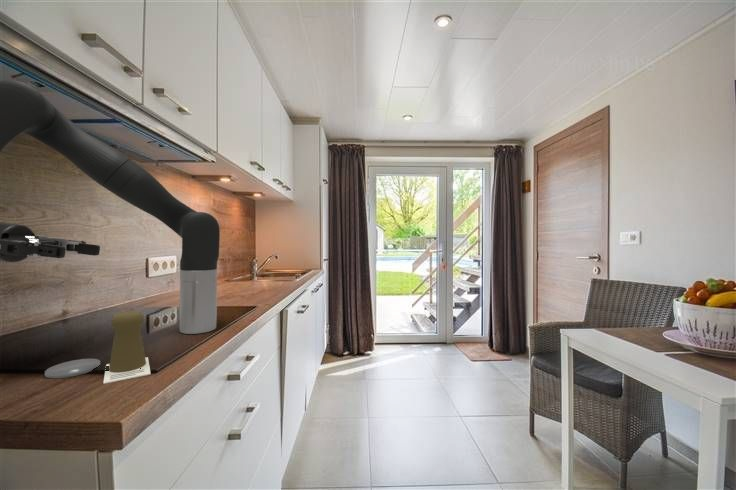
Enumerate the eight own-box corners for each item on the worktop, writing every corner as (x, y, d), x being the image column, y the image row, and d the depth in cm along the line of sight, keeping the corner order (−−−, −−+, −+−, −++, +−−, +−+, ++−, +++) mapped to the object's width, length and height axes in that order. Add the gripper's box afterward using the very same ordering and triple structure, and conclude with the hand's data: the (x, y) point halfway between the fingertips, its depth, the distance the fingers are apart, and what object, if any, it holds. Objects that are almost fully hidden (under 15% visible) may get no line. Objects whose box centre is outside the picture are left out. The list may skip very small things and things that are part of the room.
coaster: (49, 367, 63) (49, 364, 63) (101, 358, 68) (101, 355, 68) (40, 382, 57) (40, 379, 57) (98, 371, 62) (98, 368, 62)
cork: (102, 368, 63) (102, 313, 62) (136, 358, 68) (136, 307, 68) (118, 375, 60) (118, 317, 60) (152, 364, 65) (152, 311, 65)
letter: (106, 365, 65) (106, 364, 65) (148, 357, 69) (148, 356, 69) (103, 384, 57) (103, 382, 57) (150, 374, 61) (150, 373, 61)
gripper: (-50, 219, 54) (52, 232, 56) (30, 223, 69) (110, 233, 70) (-55, 262, 55) (47, 274, 56) (26, 257, 69) (106, 266, 70)
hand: (82, 251), depth 63 cm, fingers open, 8 cm apart
